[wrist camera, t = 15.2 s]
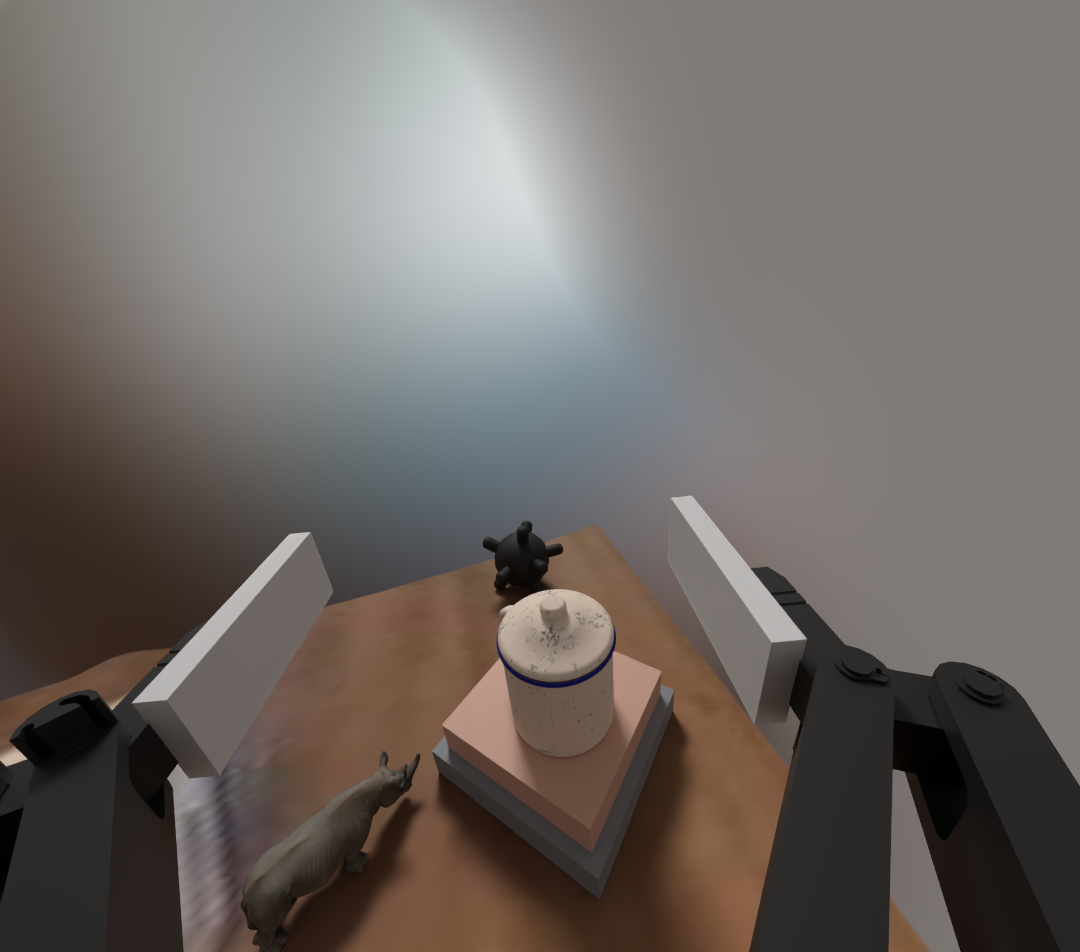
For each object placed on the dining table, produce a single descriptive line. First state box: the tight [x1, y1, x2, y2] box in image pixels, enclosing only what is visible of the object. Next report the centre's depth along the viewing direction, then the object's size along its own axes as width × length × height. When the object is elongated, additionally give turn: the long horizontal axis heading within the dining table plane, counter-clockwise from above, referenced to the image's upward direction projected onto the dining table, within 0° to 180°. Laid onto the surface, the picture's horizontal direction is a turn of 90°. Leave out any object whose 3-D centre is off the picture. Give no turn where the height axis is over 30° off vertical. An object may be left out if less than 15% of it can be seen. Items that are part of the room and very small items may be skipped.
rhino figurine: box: [241, 751, 420, 952], centre depth 31 cm, size 4×14×6 cm, turn 138°
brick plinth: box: [432, 651, 674, 900], centre depth 37 cm, size 16×16×6 cm
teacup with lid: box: [497, 589, 616, 757], centre depth 34 cm, size 12×9×12 cm
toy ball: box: [483, 521, 563, 594], centre depth 57 cm, size 11×11×12 cm
